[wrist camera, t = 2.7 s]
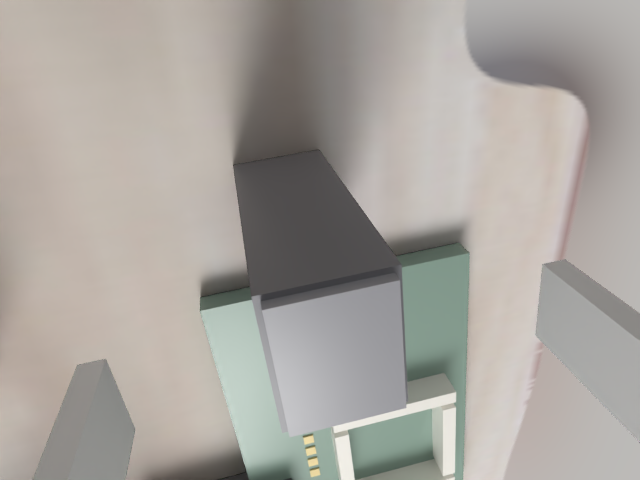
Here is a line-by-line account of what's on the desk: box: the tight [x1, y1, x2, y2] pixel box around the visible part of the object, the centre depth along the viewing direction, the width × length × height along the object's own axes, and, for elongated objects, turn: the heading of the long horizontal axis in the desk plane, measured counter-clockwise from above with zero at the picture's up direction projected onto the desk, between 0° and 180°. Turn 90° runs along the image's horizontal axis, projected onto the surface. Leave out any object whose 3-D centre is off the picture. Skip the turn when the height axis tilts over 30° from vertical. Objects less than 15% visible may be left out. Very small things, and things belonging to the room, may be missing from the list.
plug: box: [233, 150, 408, 437], centre depth 18 cm, size 6×4×11 cm
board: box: [200, 243, 469, 480], centre depth 29 cm, size 20×14×3 cm
